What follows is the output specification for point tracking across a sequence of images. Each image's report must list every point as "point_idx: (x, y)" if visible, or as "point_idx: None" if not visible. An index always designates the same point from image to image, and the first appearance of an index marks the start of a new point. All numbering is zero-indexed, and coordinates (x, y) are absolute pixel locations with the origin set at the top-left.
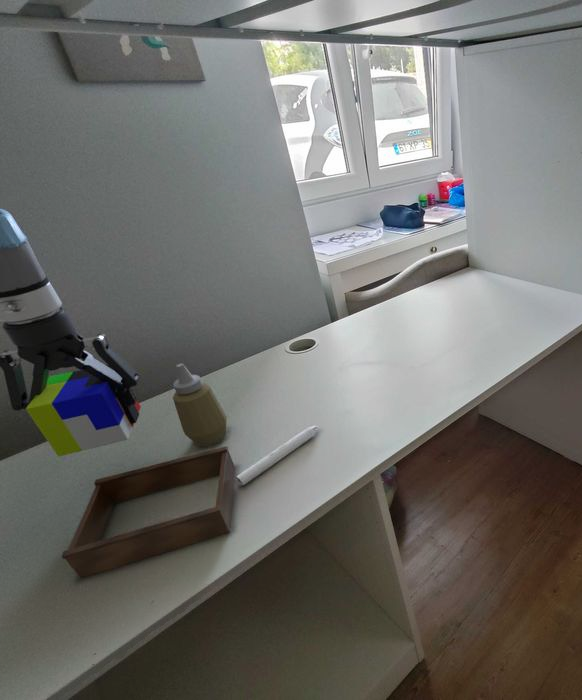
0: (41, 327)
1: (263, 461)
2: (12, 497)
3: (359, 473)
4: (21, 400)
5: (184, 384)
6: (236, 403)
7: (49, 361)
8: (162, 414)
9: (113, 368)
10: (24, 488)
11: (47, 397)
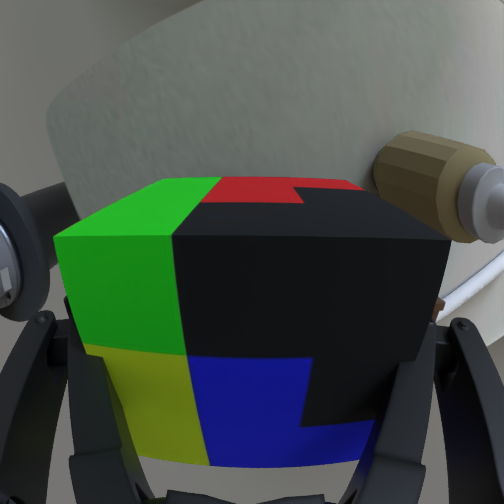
0: None
1: (457, 306)
2: (77, 200)
3: (501, 335)
4: (63, 377)
5: (494, 230)
6: (435, 77)
7: None
8: (286, 26)
9: (448, 442)
10: (84, 183)
11: (170, 437)
